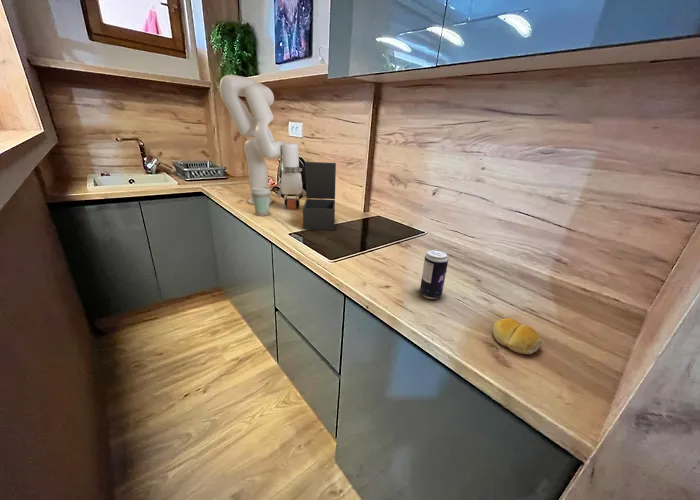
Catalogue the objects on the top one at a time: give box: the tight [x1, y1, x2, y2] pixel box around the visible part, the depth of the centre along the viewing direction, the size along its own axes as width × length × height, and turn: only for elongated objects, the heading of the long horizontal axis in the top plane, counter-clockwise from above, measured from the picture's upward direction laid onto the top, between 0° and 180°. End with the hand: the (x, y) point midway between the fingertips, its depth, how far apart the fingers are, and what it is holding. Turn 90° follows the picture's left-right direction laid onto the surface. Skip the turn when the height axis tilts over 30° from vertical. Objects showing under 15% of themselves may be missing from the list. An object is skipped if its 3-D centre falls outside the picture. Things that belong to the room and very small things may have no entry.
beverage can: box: [419, 249, 449, 300], centre depth 77 cm, size 6×6×12 cm
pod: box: [286, 197, 297, 210], centre depth 151 cm, size 4×4×4 cm
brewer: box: [302, 198, 336, 231], centre depth 129 cm, size 16×13×9 cm
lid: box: [304, 161, 337, 200], centre depth 129 cm, size 16×13×1 cm
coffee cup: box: [251, 186, 271, 217], centre depth 138 cm, size 8×8×12 cm
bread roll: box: [492, 317, 543, 355], centre depth 63 cm, size 8×9×4 cm
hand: (292, 207), depth 152 cm, fingers closed on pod, 4 cm apart
